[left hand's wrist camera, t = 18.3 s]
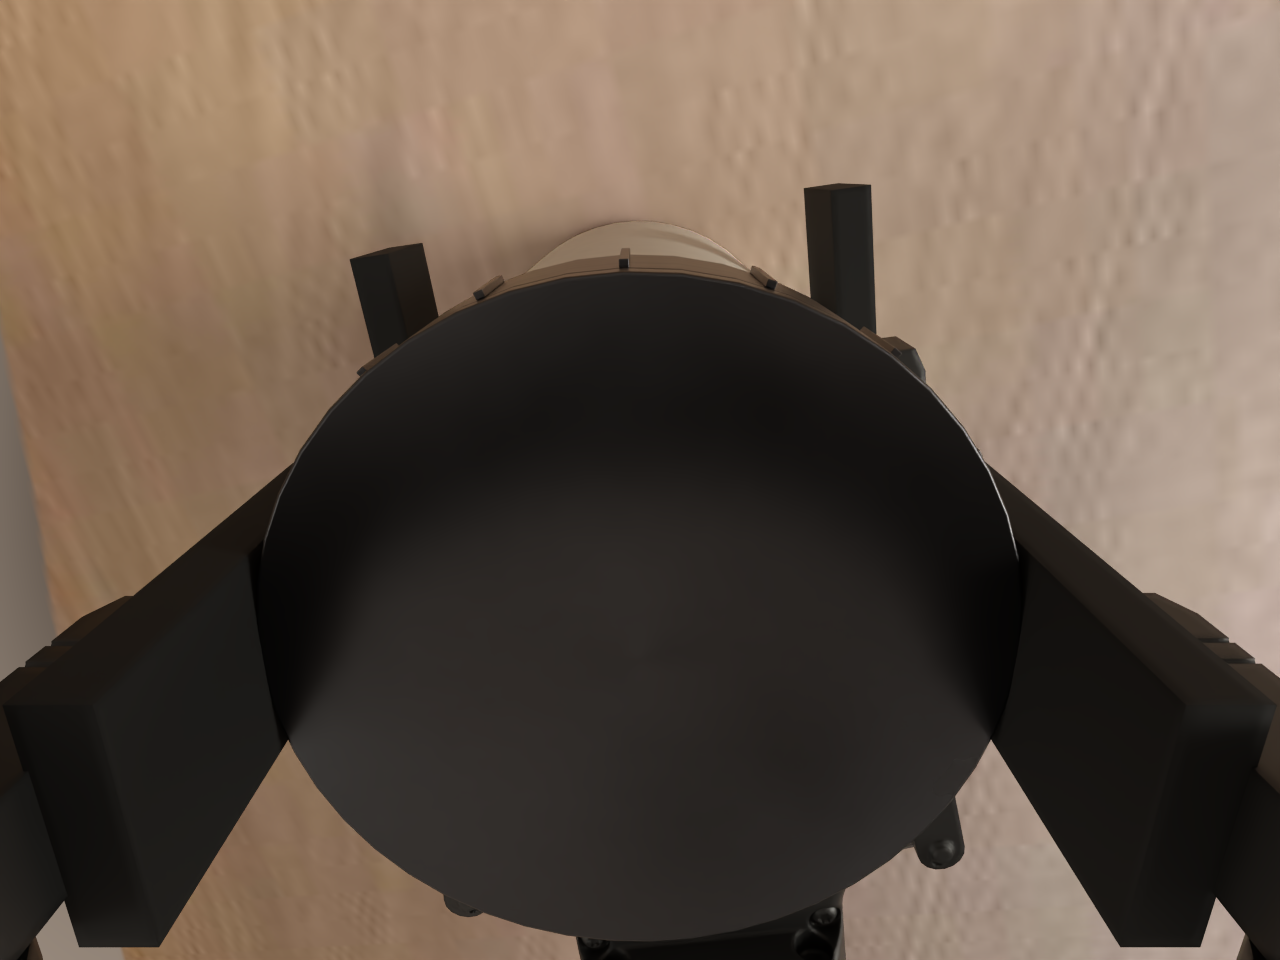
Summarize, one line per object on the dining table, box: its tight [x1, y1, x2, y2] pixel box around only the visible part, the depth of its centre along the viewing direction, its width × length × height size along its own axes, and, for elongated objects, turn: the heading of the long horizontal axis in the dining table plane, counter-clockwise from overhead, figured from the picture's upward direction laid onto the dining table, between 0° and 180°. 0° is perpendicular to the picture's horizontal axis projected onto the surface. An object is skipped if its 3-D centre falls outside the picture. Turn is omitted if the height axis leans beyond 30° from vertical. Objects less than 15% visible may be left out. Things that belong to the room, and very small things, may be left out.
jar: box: [526, 221, 750, 273], centre depth 18 cm, size 8×8×15 cm
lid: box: [257, 248, 1023, 941], centre depth 11 cm, size 9×9×2 cm
